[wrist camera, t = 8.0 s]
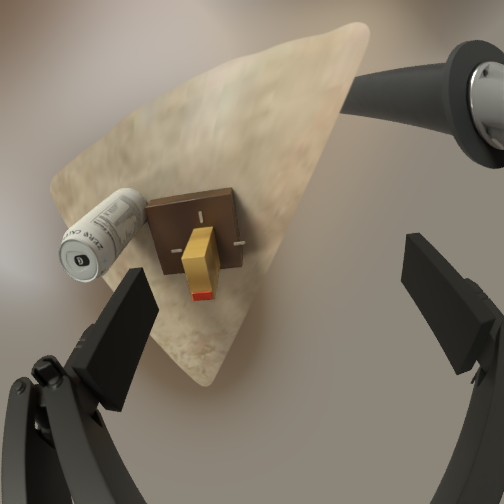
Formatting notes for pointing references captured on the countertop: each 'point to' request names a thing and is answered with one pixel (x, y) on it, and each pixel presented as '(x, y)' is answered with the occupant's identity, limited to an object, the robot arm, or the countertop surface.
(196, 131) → the countertop surface
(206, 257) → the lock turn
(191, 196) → the plate
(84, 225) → the energy drink can
